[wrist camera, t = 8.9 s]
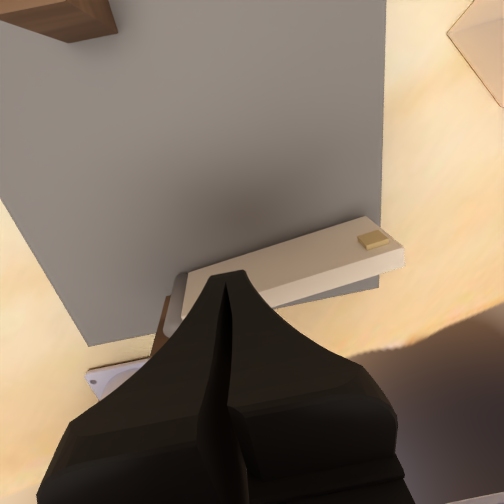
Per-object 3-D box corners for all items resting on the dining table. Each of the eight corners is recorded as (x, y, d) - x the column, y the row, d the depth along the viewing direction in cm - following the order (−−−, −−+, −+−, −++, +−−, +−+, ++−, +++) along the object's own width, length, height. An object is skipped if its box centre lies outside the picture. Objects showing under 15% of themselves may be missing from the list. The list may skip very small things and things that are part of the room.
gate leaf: (180, 294, 21) (171, 345, 17) (169, 273, 20) (156, 321, 16) (367, 234, 20) (407, 272, 16) (364, 210, 19) (405, 243, 15)
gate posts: (206, 311, 22) (203, 372, 17) (174, 318, 22) (161, 381, 17) (101, -22, 13) (32, -90, 8) (47, -11, 13) (-54, -73, 8)
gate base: (372, 280, 23) (378, 287, 22) (93, 337, 23) (88, 346, 22) (377, -75, 14) (388, -87, 13) (-89, 19, 14) (-110, 14, 13)
